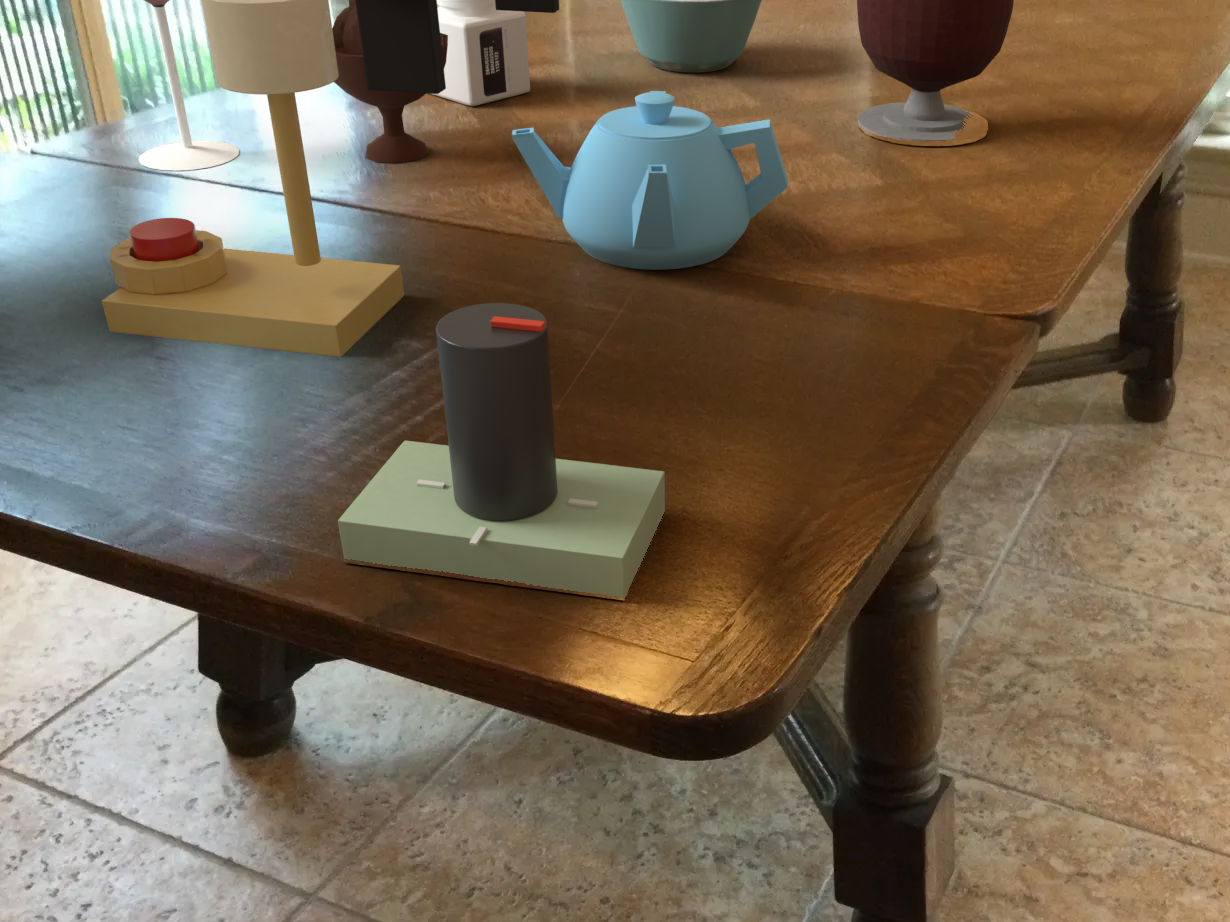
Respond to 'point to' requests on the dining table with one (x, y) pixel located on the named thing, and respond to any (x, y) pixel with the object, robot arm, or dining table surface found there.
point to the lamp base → (250, 298)
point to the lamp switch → (164, 239)
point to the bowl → (691, 32)
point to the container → (483, 52)
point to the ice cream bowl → (376, 93)
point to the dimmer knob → (498, 409)
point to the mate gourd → (928, 59)
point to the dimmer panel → (508, 525)
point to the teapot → (657, 184)
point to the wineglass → (181, 120)
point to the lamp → (278, 83)
